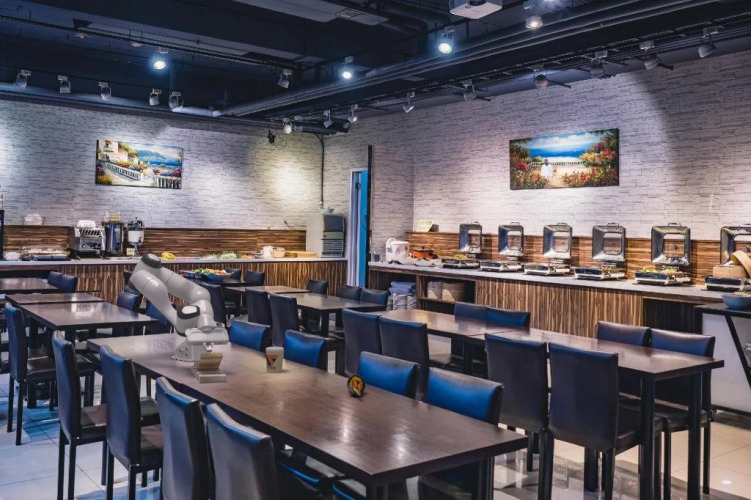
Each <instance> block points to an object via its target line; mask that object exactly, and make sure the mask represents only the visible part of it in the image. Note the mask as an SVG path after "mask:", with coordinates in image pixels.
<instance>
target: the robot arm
mask: <svg viewBox="0 0 751 500" xmlns="http://www.w3.org/2000/svg"><path fill="white" fill-rule="evenodd" d="M127 287H128V288H129V290H131V291H132V292H134V293H136V294H142V295H143V296H144V297H145V298H146V299H147V300H148V301H149V302H150V303H151V304H152V305H153V306H154V308H156V309H157V311H158V312H159V313H160V314H161V315H162V316H163V317H164V319H166V320H167V321H168V322H169V323H170V324H171V325H172V326H173V328H174V330H175V333H176V334H177V335H178V336H179V337H183V338H185V340H184V341H182V342H181V343H180V344H178V345H177V346H176V348H175V352H174V354H173V355H171V356H170V359H171V358H172V359H171V360H176V359H177V361H181V360H182V361H183V362H188V363H189V362H190V363H192V362H193V363H194V362H199V359H200V356H201V354H202V353H213V348H214V346H219V345H220V346H222V345H223V346H225V345H226V346H227V345H228V344H229V341H230V337H229V334H228V330H227V329H226V327H225V323H222V322H218V321H215V319H214V314H215V313H214V309H213V307H212V303H211V294H210V292H209V291H208V289H207V288H205V287H203V286H201V285H199V284H197V283H195V282H194V281H191V280H189V279H187V278H185V277H183V276H181V275H180V274H178V273H177V272H175V271H172V270H171V269H169V268H166V267H164V266H163V265H162V260H161V258H159V257H158V256H157V255H155V254H153V253H149V252H148V253H145V254H143V255H142V256H141V258H140V260H139V261H138V262H137V264H135V267H134V269H133V271H132V273H131V275H130V277H129V278H128V282H127ZM169 294H170V295H172V296H174V297H175V298H178V299H180V300H183V301H185V302H187V303H188V304H185V305H181V306H179V307H178V309H177V310H176V309H175V308H174V307H173V305H172V303H171V301H170V295H169Z"/></svg>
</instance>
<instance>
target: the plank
mask: <svg viewBox="0 0 751 500" xmlns="http://www.w3.org/2000/svg"><path fill="white" fill-rule="evenodd" d="M223 357H224V354H223V352H210V353H202V354H201V356H200V359H199V361H197V362H198V365H197V369H198V370H209V369H220V366H221V363H222V361H223Z"/></svg>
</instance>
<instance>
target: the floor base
mask: <svg viewBox="0 0 751 500" xmlns="http://www.w3.org/2000/svg"><path fill="white" fill-rule="evenodd" d="M198 362H199V361H193V365H191V366H190V367H191V369H190V372H191V373H192V375H193V376H194V377H195V379H196V380H197V381H198V382H199V384H211V383H214V384H215V383H226V382H227V375H226V373H224V372H223V370H222V369H220V368H219V369H209V370H198V369H197V365H198Z"/></svg>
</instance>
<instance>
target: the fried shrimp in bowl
mask: <svg viewBox="0 0 751 500" xmlns="http://www.w3.org/2000/svg"><path fill="white" fill-rule="evenodd" d="M366 387H367V386H366V380H365V379H364V378H363V377H362V376H361V375H359V374H353V375H350V376H349V377H348V379H347V381H346V388H347V390H348V391H347V392H348V394H349V395H350V396H351V397H354V396H355V397H361V394H363V393H364V391H365V390H366Z"/></svg>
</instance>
